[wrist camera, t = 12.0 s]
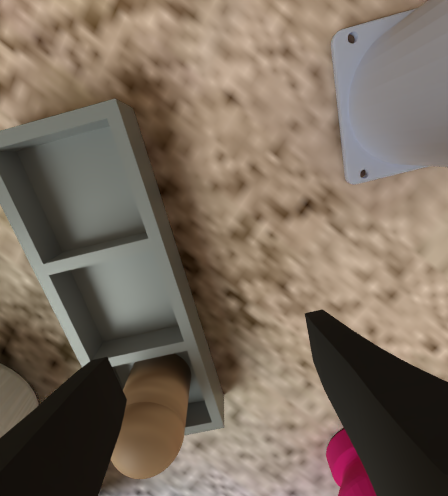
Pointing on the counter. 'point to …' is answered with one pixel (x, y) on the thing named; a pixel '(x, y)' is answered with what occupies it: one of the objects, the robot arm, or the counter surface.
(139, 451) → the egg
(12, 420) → the ramekin
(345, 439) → the pepper mill
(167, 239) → the tray
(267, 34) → the counter surface
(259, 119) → the counter surface
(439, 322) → the counter surface
